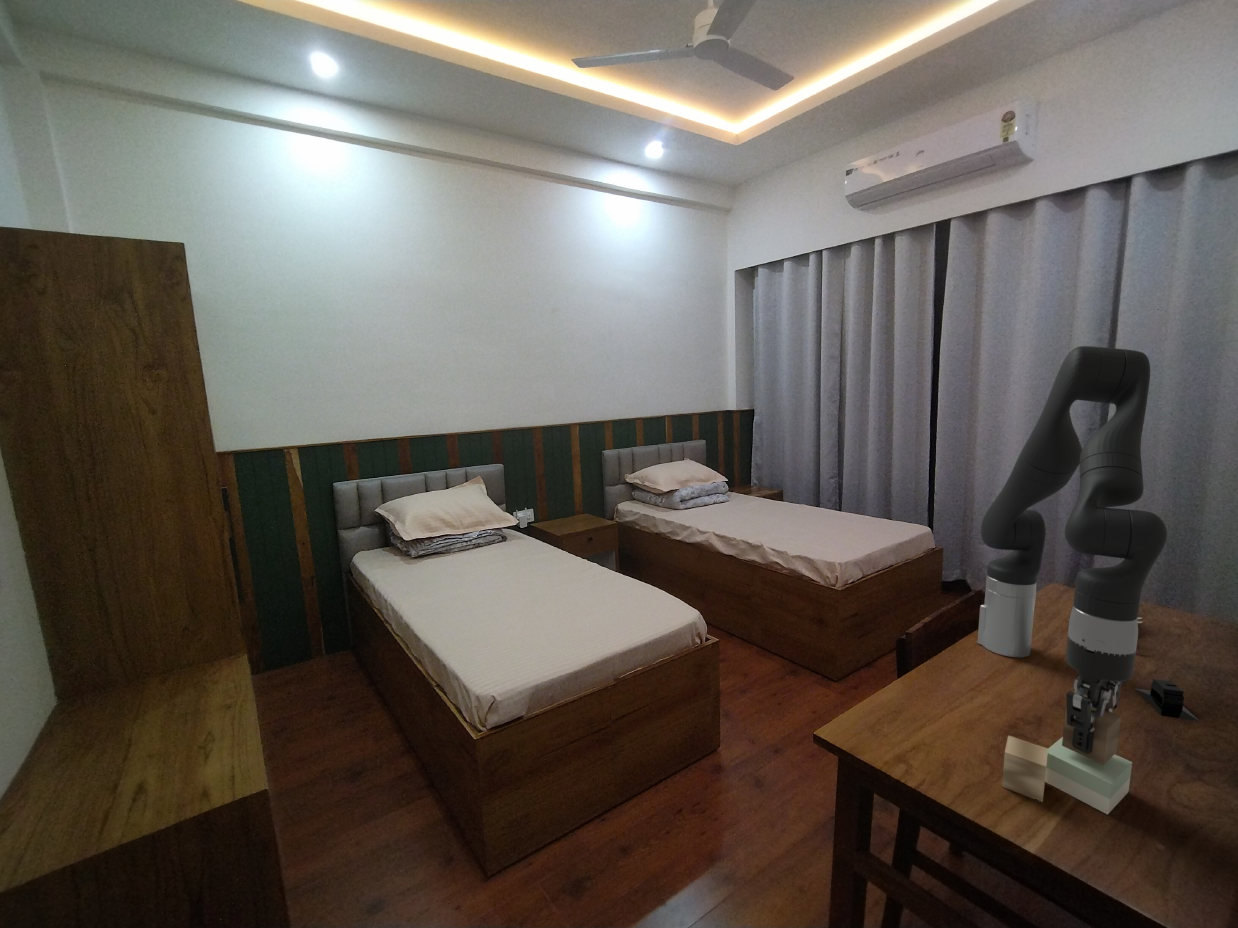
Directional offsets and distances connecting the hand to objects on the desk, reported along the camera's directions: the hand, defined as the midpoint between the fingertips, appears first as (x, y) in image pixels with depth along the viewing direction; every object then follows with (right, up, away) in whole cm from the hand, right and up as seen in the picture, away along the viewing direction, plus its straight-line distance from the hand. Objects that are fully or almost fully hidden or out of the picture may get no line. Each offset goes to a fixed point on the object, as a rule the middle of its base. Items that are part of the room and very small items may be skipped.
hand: (1089, 742), depth 81 cm
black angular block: (+33, -4, +20) cm, 39 cm away
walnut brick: (0, -1, 0) cm, 1 cm away
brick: (-9, -7, +2) cm, 12 cm away
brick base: (0, -7, +1) cm, 7 cm away
